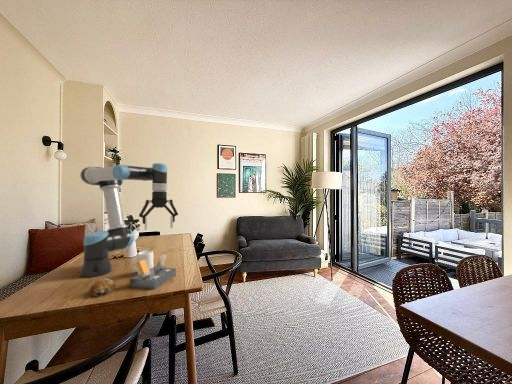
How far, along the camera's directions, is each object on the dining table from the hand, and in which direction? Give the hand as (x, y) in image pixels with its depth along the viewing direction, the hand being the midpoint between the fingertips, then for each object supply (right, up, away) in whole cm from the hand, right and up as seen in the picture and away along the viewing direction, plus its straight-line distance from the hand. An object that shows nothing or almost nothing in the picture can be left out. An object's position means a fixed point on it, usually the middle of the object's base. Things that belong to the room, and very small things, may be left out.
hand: (159, 228), depth 126 cm
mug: (-11, -27, +4) cm, 29 cm away
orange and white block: (-2, -22, -12) cm, 25 cm away
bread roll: (-18, -27, -20) cm, 38 cm away
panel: (+1, -27, -7) cm, 27 cm away
